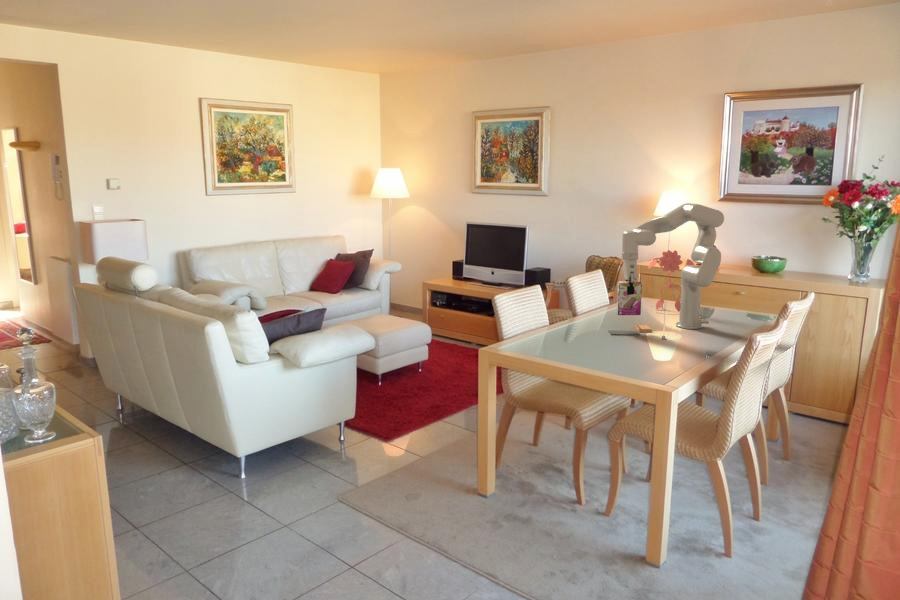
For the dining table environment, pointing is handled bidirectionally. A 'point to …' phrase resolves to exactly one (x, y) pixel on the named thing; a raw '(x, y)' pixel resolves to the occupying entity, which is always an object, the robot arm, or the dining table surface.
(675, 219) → the robot arm
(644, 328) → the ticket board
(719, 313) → the dining table surface
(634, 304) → the candy bar box
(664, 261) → the pink artificial flower
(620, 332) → the rubber pad
